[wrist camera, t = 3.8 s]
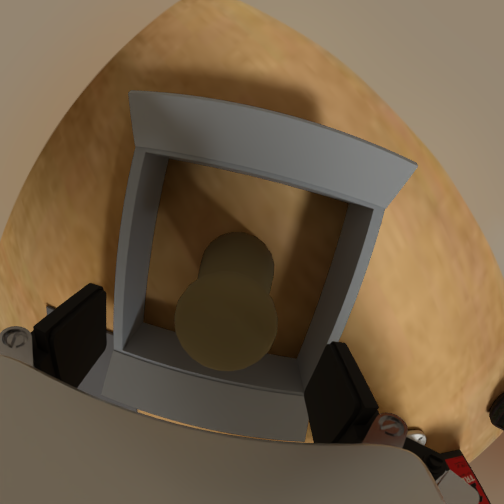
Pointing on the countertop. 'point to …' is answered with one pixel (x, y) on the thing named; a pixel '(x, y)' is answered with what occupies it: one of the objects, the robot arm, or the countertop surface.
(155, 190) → the carton
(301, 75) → the countertop surface
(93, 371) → the rubber mat
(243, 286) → the cork
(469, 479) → the cleaning product box
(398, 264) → the countertop surface
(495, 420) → the mate gourd
